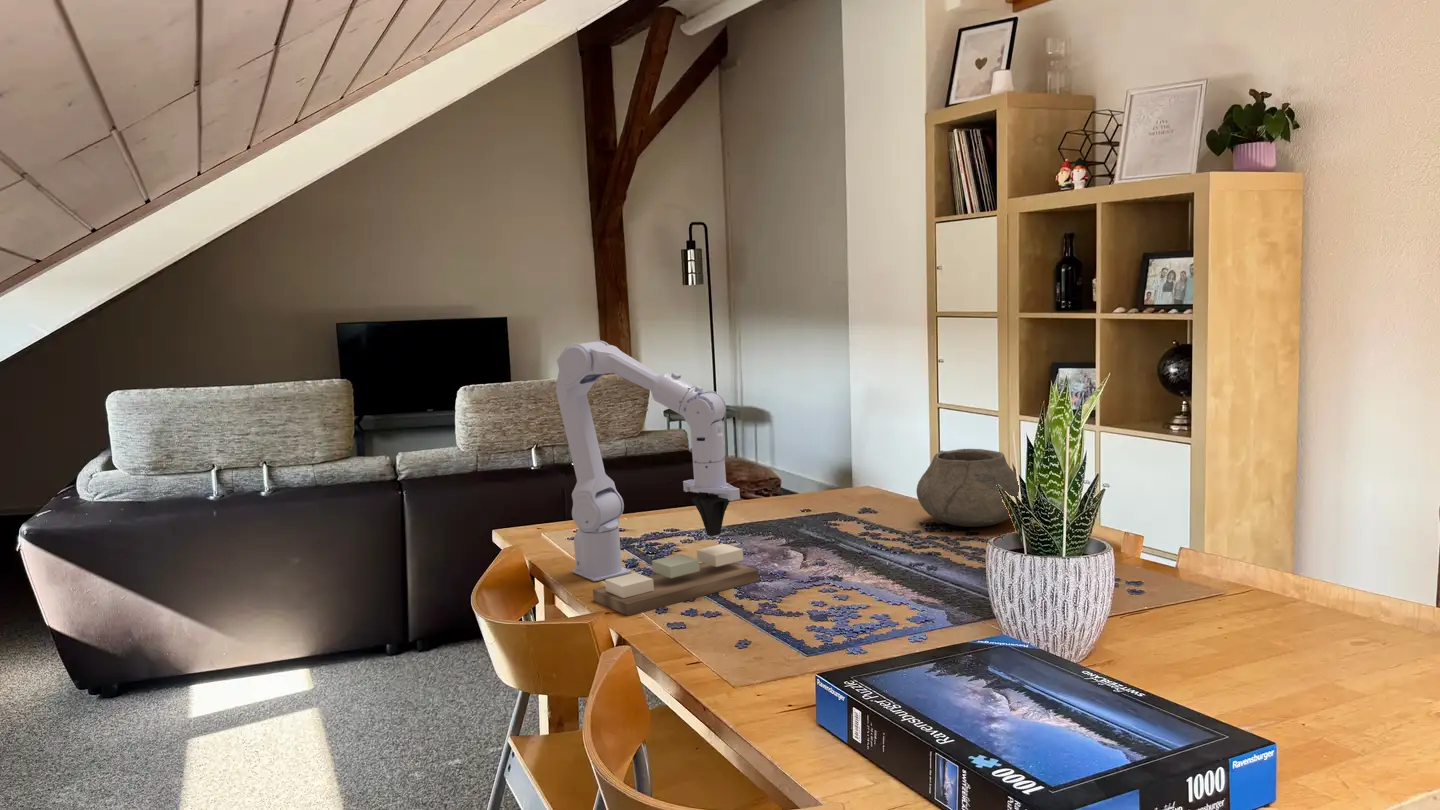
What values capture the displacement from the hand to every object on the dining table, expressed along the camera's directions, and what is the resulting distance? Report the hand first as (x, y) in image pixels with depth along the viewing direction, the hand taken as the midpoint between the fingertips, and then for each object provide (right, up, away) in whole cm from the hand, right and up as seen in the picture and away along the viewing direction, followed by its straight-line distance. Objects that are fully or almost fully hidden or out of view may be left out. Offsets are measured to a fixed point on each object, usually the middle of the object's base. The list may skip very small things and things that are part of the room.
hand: (713, 534), depth 188 cm
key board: (-6, -9, -4) cm, 12 cm away
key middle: (-7, -6, -4) cm, 10 cm away
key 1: (-14, -8, -9) cm, 19 cm away
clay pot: (+53, -2, +30) cm, 61 cm away
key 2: (+1, -5, +1) cm, 5 cm away
